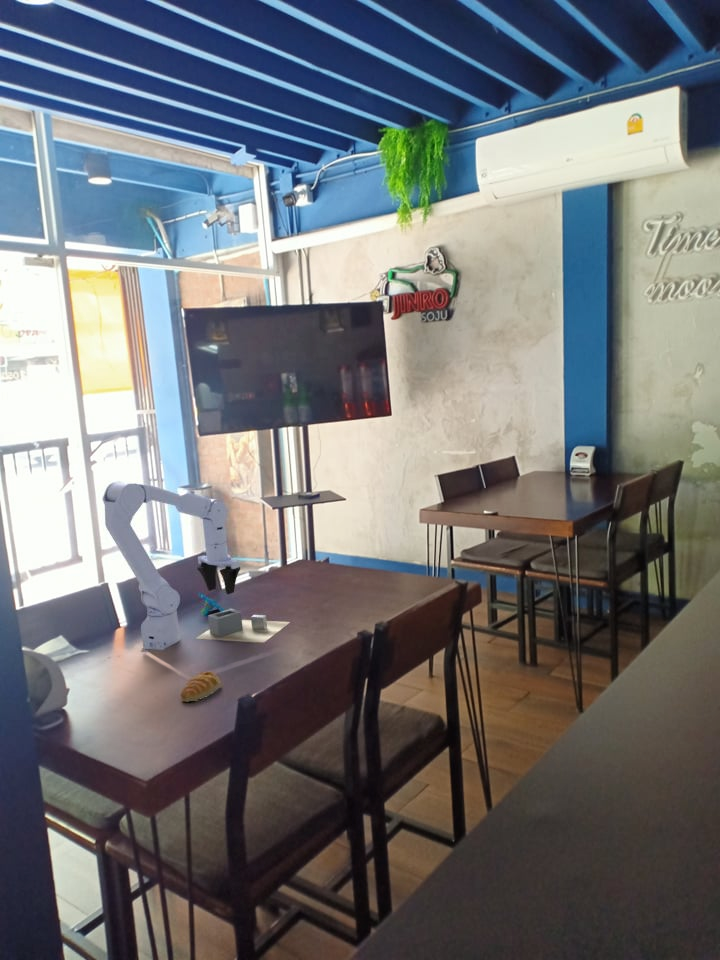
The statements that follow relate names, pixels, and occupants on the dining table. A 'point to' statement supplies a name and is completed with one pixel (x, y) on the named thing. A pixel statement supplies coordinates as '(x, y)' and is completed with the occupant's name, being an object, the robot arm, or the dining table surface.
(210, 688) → the pastry
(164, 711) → the dining table surface
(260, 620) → the key shaft
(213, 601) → the blue cross piece
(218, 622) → the grey hollow rectangular block
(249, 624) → the shaft board
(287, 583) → the dining table surface
